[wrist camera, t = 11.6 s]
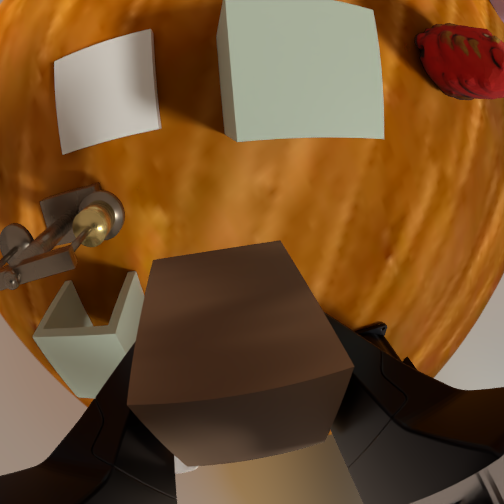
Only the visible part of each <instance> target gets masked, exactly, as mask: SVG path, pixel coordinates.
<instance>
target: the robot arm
mask: <svg viewBox="0 0 504 504" xmlns="http://www.w3.org/2000/svg"><path fill="white" fill-rule="evenodd" d="M324 314H325V316H326V317H327V319H328V321H329V323H330V324H331V326H332V328H333V329H334V331H335V333H336V335H337V336H338V338H339V340H340V342H341V343H342V345H343V347H344V349H345V350H346V352H347V354H348V356H349V358H350V359H351V361H352V363H353V365H354V369H353V372H352V375H351V378H350V381H349V384H348V386H347V389H346V392H345V394H344V397H343V400H342V402H341V405H340V407H339V410H338V412H337V415H336V417H335V419H334V422H333V424H332V426H331V432H332V434H333V436H334V438H335V440H336V443H337V445H338V447H339V450H340V452H341V454H342V456H343V458H344V461H345V463H346V465H347V467H348V470H349V472H350V474H351V476H352V479H353V481H354V483H355V486H356V487H357V490H358V492H359V494H360V497H361V499H362V501H363V503H364V504H504V387H501V388H492V389H482V390H461V389H456V388H453V387H451V386H448V385H446V384H444V383H442V382H440V381H438V380H436V379H434V378H432V377H430V376H428V375H426V374H424V373H421V372H419V371H418V370H417V369H416V368H415V366H414V365H413V364H412V362H411V361H410V359H409V358H408V357H406V358H405V359H404V361H401V360H400V358H399V357H398V355H397V354H396V352H395V351H394V349H393V348H392V347H391V345H390V344H389V342H388V341H387V340H386V338H385V337H384V335H385V332H386V329H387V325H386V324H385V323H383V324H380V325H376V326H373V327H370V328H366V329H363V330H360V331H356V332H354V331H352V330H351V329H349V328H348V327H346V326H345V325H343V324H341V323H340V322H338V321H337V320H335V319H334V318H332V317H331V316H329V315H328V314H326V313H325V312H324ZM135 342H136V341H135ZM135 342H134V344H133V345H132V346H131V348H130V349H129V351H128V352H127V353H126V355H125V356H124V357H123V359H122V360H121V362H120V363H119V364H118V366H117V367H116V368H115V370H114V371H113V373H112V374H111V375H110V377H109V378H108V380H107V381H106V383H105V384H104V385H103V387H102V388H101V390H100V391H99V393H98V394H97V395H96V397H95V398H96V399H94V400H93V401H92V402H91V404H90V405H89V407H88V408H87V410H86V411H85V412H84V414H83V415H82V417H81V418H80V419H79V421H78V422H77V423H76V424H75V426H74V427H73V428H72V429H71V431H70V432H69V433H68V434H67V436H66V437H65V438H64V439H63V440H62V441H61V443H60V444H59V445H58V446H57V448H56V449H55V450H54V451H53V452H52V453H51V455H50V456H49V457H48V458H47V459H46V460H45V461H44V462H42V463H40V464H39V465H37V466H34V467H31V468H28V469H25V470H21V471H17V472H14V473H10V474H6V475H2V476H0V504H177V499H176V498H177V497H176V482H175V461H174V454H173V453H172V452H171V451H169V450H168V449H167V448H166V447H165V446H164V445H163V444H162V443H161V442H160V441H159V440H158V439H157V438H156V437H155V436H154V435H153V434H152V433H151V432H150V430H149V429H148V428H147V427H146V426H145V425H144V424H143V423H142V422H141V421H140V420H139V418H138V417H137V416H136V415H135V414H134V413H133V412H132V410H131V409H130V408H129V407H128V406H127V399H128V390H129V382H130V374H131V367H132V361H133V354H134V348H135Z"/></svg>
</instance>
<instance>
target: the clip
mask: <svg viewBox="0 0 504 504" xmlns="http://www.w3.org/2000/svg"><path fill="white" fill-rule="evenodd" d="M490 2H491V4H492V6H493V7H494V9H495V10H496V12H497V14H498V15H499V17H500V18H501V20H502V21H503V22H504V0H490Z"/></svg>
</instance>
